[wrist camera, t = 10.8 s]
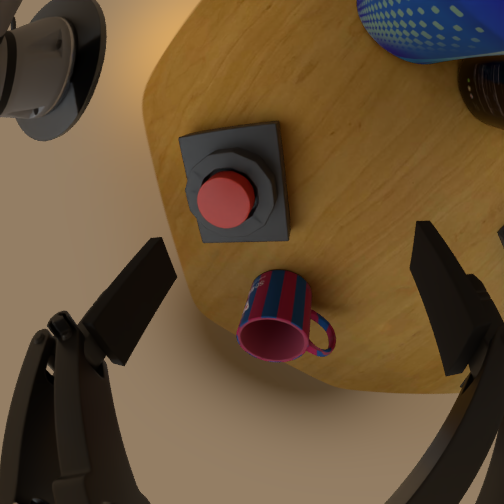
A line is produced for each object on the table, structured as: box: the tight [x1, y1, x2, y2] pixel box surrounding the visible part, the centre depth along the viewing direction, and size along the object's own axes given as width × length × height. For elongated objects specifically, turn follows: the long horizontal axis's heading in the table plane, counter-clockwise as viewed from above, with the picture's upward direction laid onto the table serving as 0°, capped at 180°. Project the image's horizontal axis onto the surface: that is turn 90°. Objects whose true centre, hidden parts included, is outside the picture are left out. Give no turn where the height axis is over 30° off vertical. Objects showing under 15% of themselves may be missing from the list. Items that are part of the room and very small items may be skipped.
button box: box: [179, 121, 291, 243], centre depth 22 cm, size 10×8×4 cm
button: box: [197, 171, 255, 228], centre depth 20 cm, size 4×4×2 cm
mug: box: [236, 270, 336, 362], centre depth 27 cm, size 7×10×7 cm
